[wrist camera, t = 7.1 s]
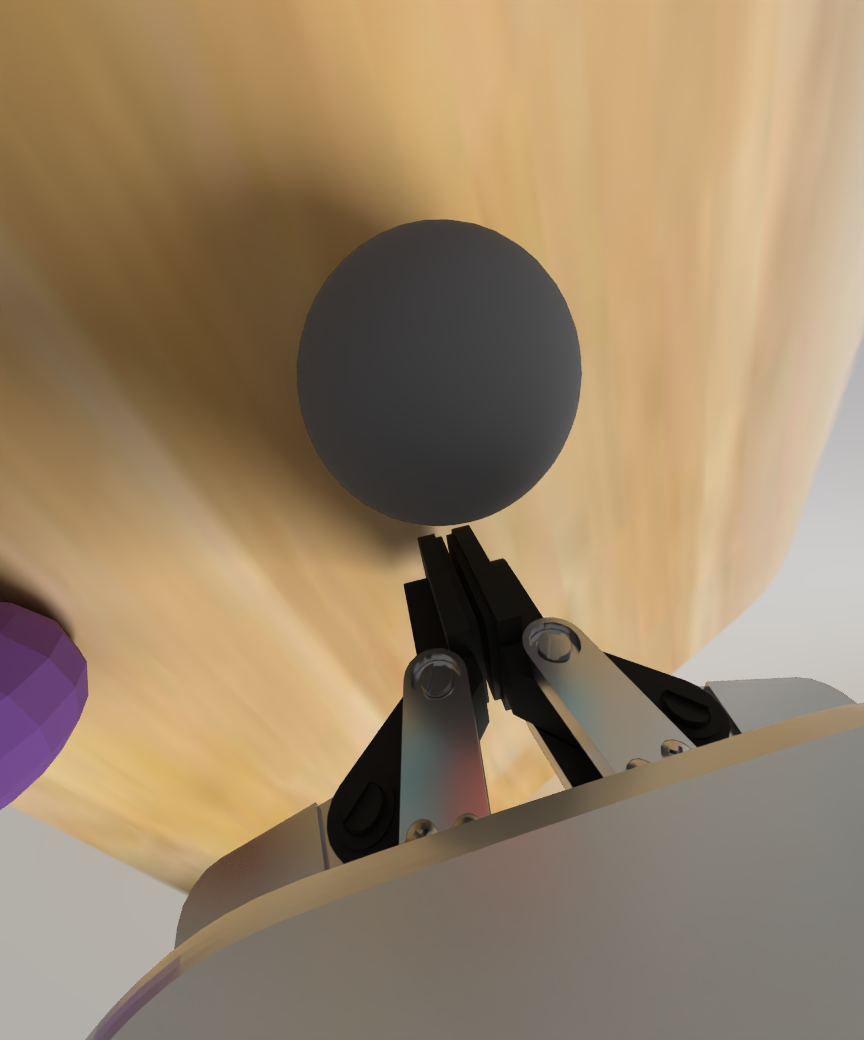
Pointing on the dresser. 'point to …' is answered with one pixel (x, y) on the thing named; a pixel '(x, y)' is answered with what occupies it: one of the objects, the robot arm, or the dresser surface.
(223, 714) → the dresser surface
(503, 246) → the dark gray ball
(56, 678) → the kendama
